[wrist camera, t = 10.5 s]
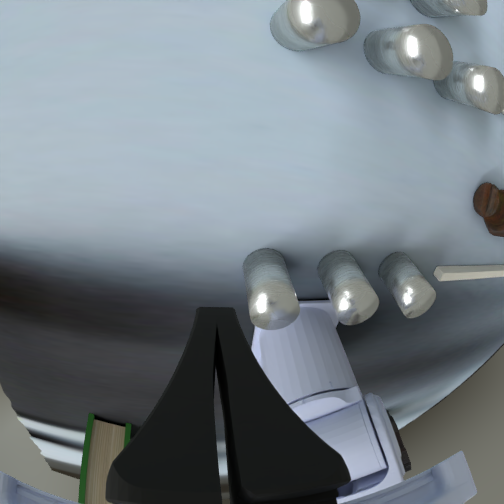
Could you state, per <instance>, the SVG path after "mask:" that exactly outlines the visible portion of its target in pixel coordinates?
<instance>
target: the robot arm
mask: <svg viewBox="0 0 504 504" xmlns="http://www.w3.org/2000/svg"><path fill="white" fill-rule="evenodd" d="M298 302H299V306H300V313H299V316H298V317H297V319H296V320H295V321H294V322H293V323H291V324H290V325H288V326H286V327H284V328H281V329H277V330H264V329H261V328H258V327H257V326H255V330H254V336H253V342H252V348H250V346H249V344H248V342H247V340H246V338H245V336H244V334H243V331H242V329H241V327H240V324H239V321H238V319H237V315H236V312H235V309H233V308H229V307H199V308H198V309H196V316H195V320H194V324H193V328H192V331H191V334H190V337H189V339H188V342H187V345H186V347H185V350H184V352H183V355H182V357H181V359H180V361H179V363H178V366H177V368H176V370H175V372H174V374H173V376H172V378H171V380H170V382H169V384H168V386H167V387H166V389H165V391H164V393H163V394H162V396H161V398H160V399H159V401H158V403H157V404H156V406H155V407H154V409H153V411H152V412H151V414H150V415H149V416H148V418H147V419H146V421H145V422H144V423H143V425H142V426H141V427H140V429H139V430H138V432H137V433H136V434H135V436H134V437H133V438H132V439H131V441H130V442H129V443H128V444H127V445H126V447H125V448H124V449H123V450H122V451H121V452H120V453H119V455H118V456H117V457H116V458H115V459H114V460H113V462H112V464H111V467H110V469H109V472H108V475H107V480H106V491H105V499H106V501H107V502H109V503H112V504H222V497H221V487H220V478H219V468H218V457H217V445H216V432H215V417H214V386H215V369H216V371H217V378H218V385H219V391H220V398H221V404H222V410H223V417H224V427H225V442H226V455H227V468H228V481H229V493H230V504H463V503H465V502H466V501H467V500H469V499H470V498H472V497H473V496H474V495H476V493H477V490H476V487H475V484H474V481H473V478H472V475H471V472H470V469H469V467H468V464H467V461H466V459H465V456H464V454H463V452H462V451H460V452H458V453H456V454H455V455H453V456H451V457H449V458H448V459H446V460H444V461H442V462H440V463H439V464H437V465H435V466H433V467H432V468H430V469H428V470H426V471H424V472H422V473H420V474H418V475H416V476H414V477H412V478H410V479H408V480H405V481H404V480H403V476H404V474H405V470H404V467H403V464H402V460H401V451H400V448H399V445H398V442H397V439H396V436H395V433H394V430H393V427H392V425H391V422H390V419H389V417H388V414H387V412H386V409H385V407H384V404H383V402H382V400H381V397H380V396H377V395H373V393H368V394H366V395H365V399H366V401H365V399H364V397H363V395H362V393H361V391H360V389H359V387H358V384H357V382H356V379H355V376H354V374H353V371H352V369H351V366H350V363H349V361H348V358H347V356H346V353H345V351H344V348H343V346H342V343H341V341H340V338H339V336H338V333H337V331H336V327H337V324H338V322H339V320H338V318H337V315H336V313H335V311H334V309H333V306H332V304H331V302H330V300H316V301H298ZM366 402H367V403H366ZM367 405H368V406H367ZM0 504H80V503H77V502H73V501H70V500H67V499H64V498H61V497H58V496H55V495H52V494H49V493H47V492H44V491H41V490H39V489H37V488H34V487H32V486H30V485H27V484H25V483H23V482H21V481H19V480H16V479H15V478H13V477H11V476H9V475H7V474H5V473H3V472H1V471H0Z"/></svg>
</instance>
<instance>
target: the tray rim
mask: <svg viewBox="0 0 504 504" xmlns="http://www.w3.org/2000/svg"><path fill="white" fill-rule="evenodd" d="M501 113H502V114H504V110H503V111H502V112H501ZM433 274H434V276H435V277H436V278H437V279H438V281H451V280H466V279H479V278H491V277H503V276H504V265H477V266H437V267H436V269H435V271H434V273H433Z"/></svg>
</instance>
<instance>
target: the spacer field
mask: <svg viewBox="0 0 504 504" xmlns="http://www.w3.org/2000/svg"><path fill="white" fill-rule="evenodd" d="M410 1H411V3H412V4H413V6H414V7H415V8H416V9H417V10H418V11H419V12H420V13H421V14H423V15H425V16H427V17H443V16H467V15H484V14H485V13H486V11H487V0H410ZM359 24H360V13H359V9H358V7H357V4H356V3H355V1H354V0H286V1H285V2H284V3H283V5H282V6H281V7H280V8H279V9H278V10H277V11H276V12H275V13H274V14H273V16H272V18H271V21H270V30H271V33H272V35H273V37H274V39H275V40H276V41H277V42H278V43H279V44H280V45H282V46H283V47H285V48H287V49H290V50H294V51H305V50H309V49H313V48H317V47H321V46H325V45H330V44H334V43H339V42H343V41H346V40H348V39H349V38H351V37H352V36H353V35H354V34H355V33H356V31H357V30H358V27H359ZM364 53H365V56H366V59H367V60H368V62H369V64H370V65H371V66H372V67H373V68H374V69H376V70H377V71H379V72H381V73H384V74H393V75H402V76H411V77H418V78H425V79H431V80H433V82H434V86H435V88H436V90H437V92H438V93H439V94H440V95H441V96H442V97H443V98H445V99H448V100H452V101H456V102H459V103H462V104H466V105H469V106H472V107H475V108H478V109H481V110H484V111H487V112H490V113H492V114H500V113H501V112H502V111H503V110H504V77H503V75H502V74H501V72H500V71H499V70H498V69H496V68H493V67H488V66H483V65H477V64H471V63H464V62H457V61H453V53H452V49H451V46H450V44H449V42H448V40H447V38H446V37H445V35H444V34H443V33H442V32H441V31H440V30H439V29H437V28H436V27H434V26H432V25H428V24H420V25H410V26H401V27H394V28H387V29H381V30H376V31H373V32H371V33H370V34H369V35H368V36H367V37H366V39H365V42H364ZM243 272H244V279H245V285H246V292H247V299H248V306H249V312H250V319H251V321H252V323H253V324H254V325H255V326H257V327H258V328H261V329H264V330H277V329H281V328H284V327H286V326H288V325H290V324H291V323H293V322H294V321H295V320H296V319H297V317H298V316H299V313H300V306H299V302H298V299H297V296H296V293H295V290H294V287H293V285H292V282H291V279H290V276H289V273H288V270H287V267H286V264H285V261H284V258H283V256H282V255H281V254H280V253H279V252H277V251H275V250H273V249H259V250H256V251H254V252H252V253H251V254H250V255H248V256H247V258H246V259H245V261H244V263H243ZM318 275H319V277H320V279H321V282H322V284H323V286H324V288H325V291H326V293H327V295H328V297H329V299H330V302H331V304H332V306H333V309H334V311H335V313H336V315H337V318H338V320H339V322H341V323H342V324H344V325H355V324H359V323H361V322H363V321H365V320H367V319H368V318H370V317H371V316H372V315H373V314H374V313H375V311H376V310H377V308H378V305H379V299H378V297H377V295H376V293H375V292H374V290H373V288H372V287H371V285H370V283H369V282H368V280H367V279H366V277H365V275H364V274H363V272H362V271H361V269H360V267H359V266H358V264H357V263H356V261H355V260H354V258H353V256H352V255H351V254H350V253H349V252H347V251H343V250H338V251H334V252H331V253H329V254H328V255H326V256H325V257H324V258H323V259H322V260H321V261H320V263H319V265H318ZM379 276H380V278H381V279H382V281H383V282H384V284H385V285H386V287H387V288H388V290H389V292H390V293H391V295H392V296H393V298H394V299H395V301H396V302H397V304H398V306H399V307H400V309H401V310H402V312H403V314H404V315H405V317H407V318H415V317H418V316H420V315H422V314H423V313H424V312H426V311H427V310H428V309H429V308H430V307H431V306H432V304H433V303H434V301H435V298H436V292H435V290H434V289H433V288H432V286H431V285H430V284H429V282H428V281H427V280H426V279H425V277H424V276H423V275H422V274H421V272H420V271H419V270H418V269H417V267H416V266H415V265H414V264H413V262H412V261H411V260H410V259H409V258H408V256H407V255H406V254H405V253H403V252H395V253H393V254H391V255H389V256H388V257H386V258H385V259H384V260H383V262H382V263H381V265H380V267H379Z"/></svg>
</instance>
